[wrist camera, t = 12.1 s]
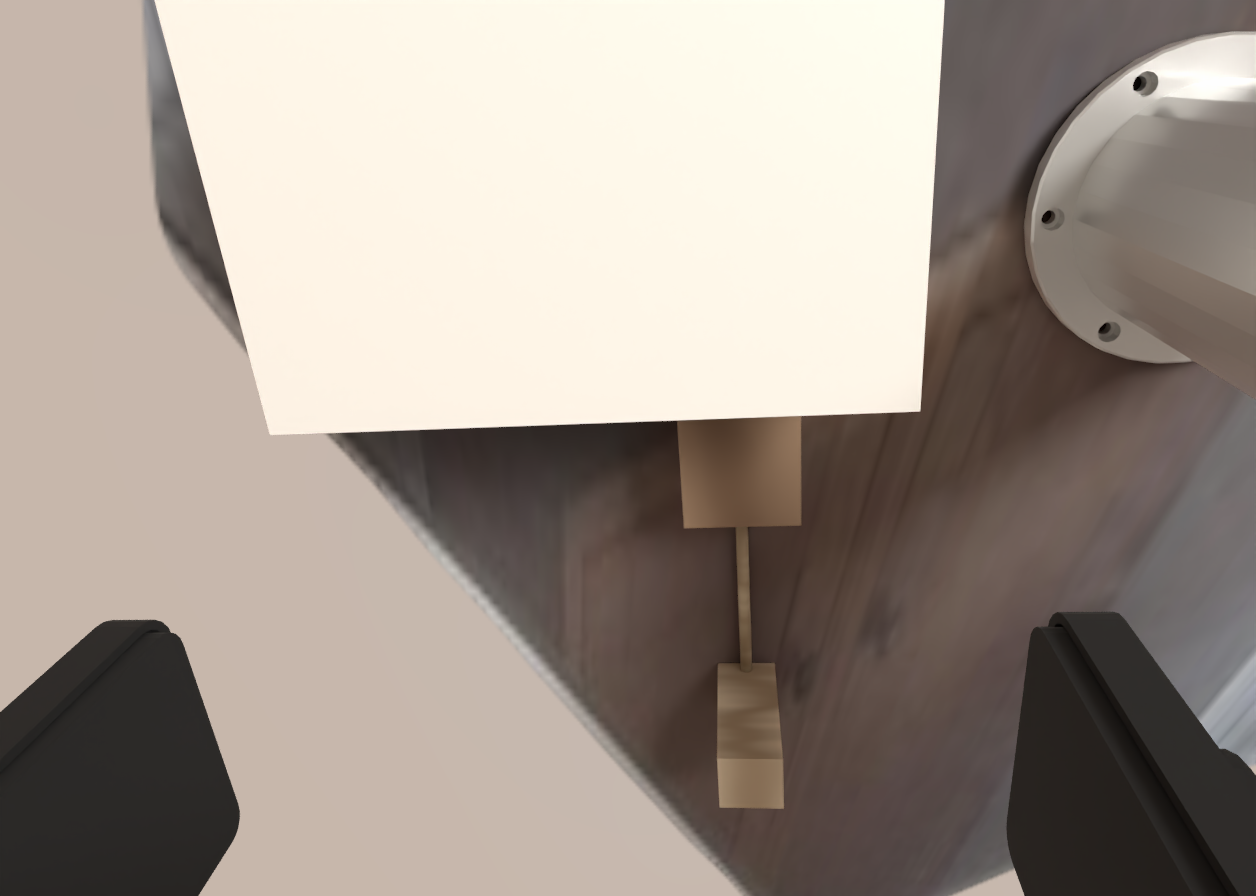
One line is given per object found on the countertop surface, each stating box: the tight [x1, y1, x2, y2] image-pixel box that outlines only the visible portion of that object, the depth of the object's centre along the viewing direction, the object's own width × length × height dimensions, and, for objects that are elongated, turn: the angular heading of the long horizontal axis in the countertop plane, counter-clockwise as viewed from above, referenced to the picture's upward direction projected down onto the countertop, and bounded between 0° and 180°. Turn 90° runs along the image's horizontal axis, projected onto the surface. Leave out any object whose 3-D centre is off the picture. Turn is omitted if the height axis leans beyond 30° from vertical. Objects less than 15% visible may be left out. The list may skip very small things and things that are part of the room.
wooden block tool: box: [677, 416, 801, 809], centre depth 40 cm, size 5×19×7 cm, turn 4°
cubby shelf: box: [155, 0, 945, 435], centre depth 29 cm, size 20×16×14 cm
